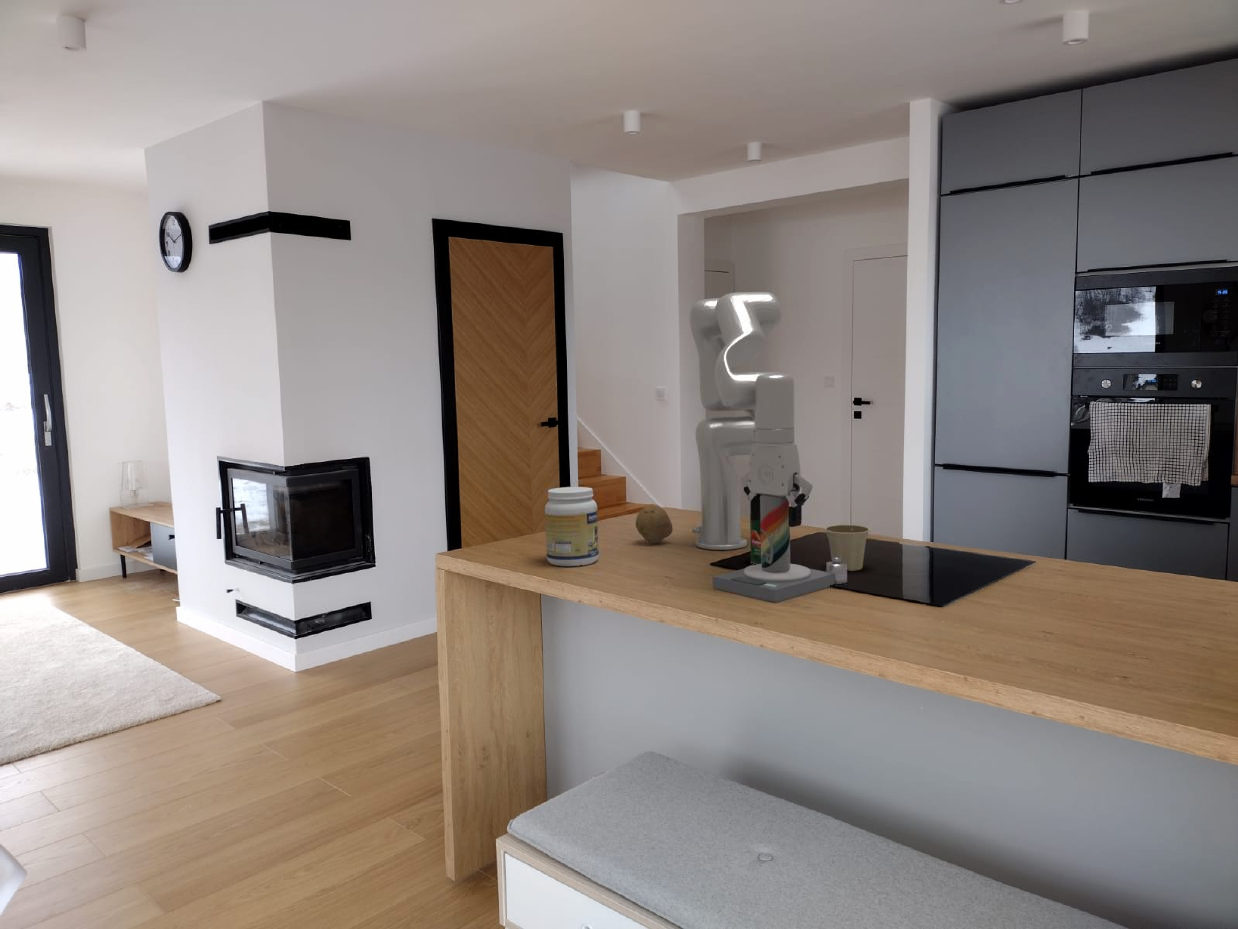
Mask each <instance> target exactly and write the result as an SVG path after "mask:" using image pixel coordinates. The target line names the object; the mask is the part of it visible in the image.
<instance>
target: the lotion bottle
mask: <svg viewBox="0 0 1238 929" xmlns="http://www.w3.org/2000/svg"><path fill="white" fill-rule="evenodd" d="M789 507H790V503H789V501H788V500H787V498H786V496H783V497H779V496H770V495H763V494H762V495H761V496H760V518H761V566H762V570H763V571H766V572H773V573H779V572H786V571H789V570H790V564H791V540H790V539H791V531H790V530H791V529H790V528H791V527H789V525H788V508H789Z"/></svg>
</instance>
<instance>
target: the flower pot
mask: <svg viewBox="0 0 1238 929" xmlns="http://www.w3.org/2000/svg"><path fill="white" fill-rule="evenodd" d="M824 531H825V532H826V537H827V539H828V544H829V549H830V557H831V559H832V557H841V562H845V563H847V571H850V572H854V571H860V570H862V569H863V567H864V557H865V550H866V544H867V539H868V537H869V533H870V532H871V528H870V527H867V526H865V525H864V526H863V525H858V524H857V525H856V524H833V525H829V526H826V527H824Z"/></svg>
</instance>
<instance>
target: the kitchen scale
mask: <svg viewBox="0 0 1238 929" xmlns="http://www.w3.org/2000/svg"><path fill="white" fill-rule="evenodd" d="M833 584H835V573H830V572H826V571H822V570H818V569H813V568H809V567H807V566H803V565H800V564H794V563H790V570H789V571H786V572H779V573H773V572H766V571H763V570H762V566H761V564H756V565H754V564H751V565H749V566H746V567H745V568H741V569H738V570H734V571H729V572H725V573H722V574H717V575H713V576H712V589H714V590H718V589H719V591H724V592H727V593H731V592H732V594H736V595H741V596H745V597H748V598H749V597H750V598H752V599H758V600H762V601H765V602H771V603H775V604H776V603H779V602H783V601H786V600H790V599H793V598H798V597H799V596H803V595H806V594H810V593H813V592H816V591H821V590H824V589H828V588H830V585H833Z"/></svg>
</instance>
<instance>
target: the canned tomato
mask: <svg viewBox="0 0 1238 929" xmlns="http://www.w3.org/2000/svg"><path fill="white" fill-rule="evenodd" d="M749 526H750V529H749V530H750V535H749V536H750V563H751V564H752V563H753V564H752V565H754V564H761V519H760V520H755V521H751V517H750V516H749Z"/></svg>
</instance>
